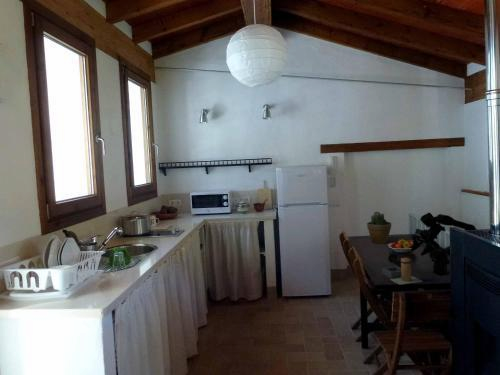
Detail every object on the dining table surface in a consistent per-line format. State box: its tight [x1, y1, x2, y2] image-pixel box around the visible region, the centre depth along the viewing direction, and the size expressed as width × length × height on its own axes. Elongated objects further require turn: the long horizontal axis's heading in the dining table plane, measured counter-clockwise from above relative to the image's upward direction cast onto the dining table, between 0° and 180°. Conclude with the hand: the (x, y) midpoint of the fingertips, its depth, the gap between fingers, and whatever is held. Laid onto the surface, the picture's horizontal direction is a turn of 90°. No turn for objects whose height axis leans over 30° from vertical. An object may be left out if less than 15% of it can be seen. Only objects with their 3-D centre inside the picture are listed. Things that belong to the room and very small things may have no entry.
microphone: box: [388, 253, 401, 268], centre depth 245 cm, size 6×6×20 cm
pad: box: [389, 275, 423, 286], centre depth 214 cm, size 14×9×1 cm, turn 101°
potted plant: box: [366, 211, 392, 245], centre depth 306 cm, size 18×19×25 cm
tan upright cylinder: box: [400, 257, 412, 282], centre depth 213 cm, size 5×5×12 cm
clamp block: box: [381, 265, 402, 279], centre depth 225 cm, size 11×11×4 cm
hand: (416, 253), depth 221 cm, fingers open, 9 cm apart
